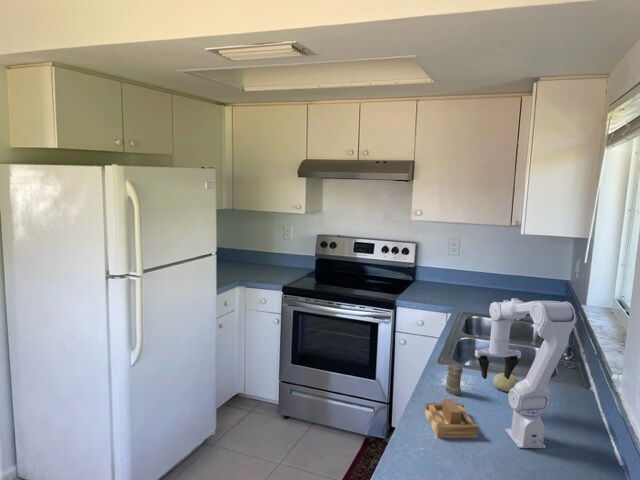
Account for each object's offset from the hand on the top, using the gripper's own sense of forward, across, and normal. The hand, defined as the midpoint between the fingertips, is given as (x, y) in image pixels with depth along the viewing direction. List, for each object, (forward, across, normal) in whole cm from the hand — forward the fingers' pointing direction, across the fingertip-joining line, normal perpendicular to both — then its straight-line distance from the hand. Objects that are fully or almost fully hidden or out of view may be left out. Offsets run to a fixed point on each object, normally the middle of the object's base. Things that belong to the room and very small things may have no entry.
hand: (495, 377), depth 163 cm
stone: (+11, +10, -10) cm, 18 cm away
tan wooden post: (+8, +18, +11) cm, 23 cm away
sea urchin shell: (+11, -11, -14) cm, 21 cm away
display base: (+10, +18, +11) cm, 24 cm away
